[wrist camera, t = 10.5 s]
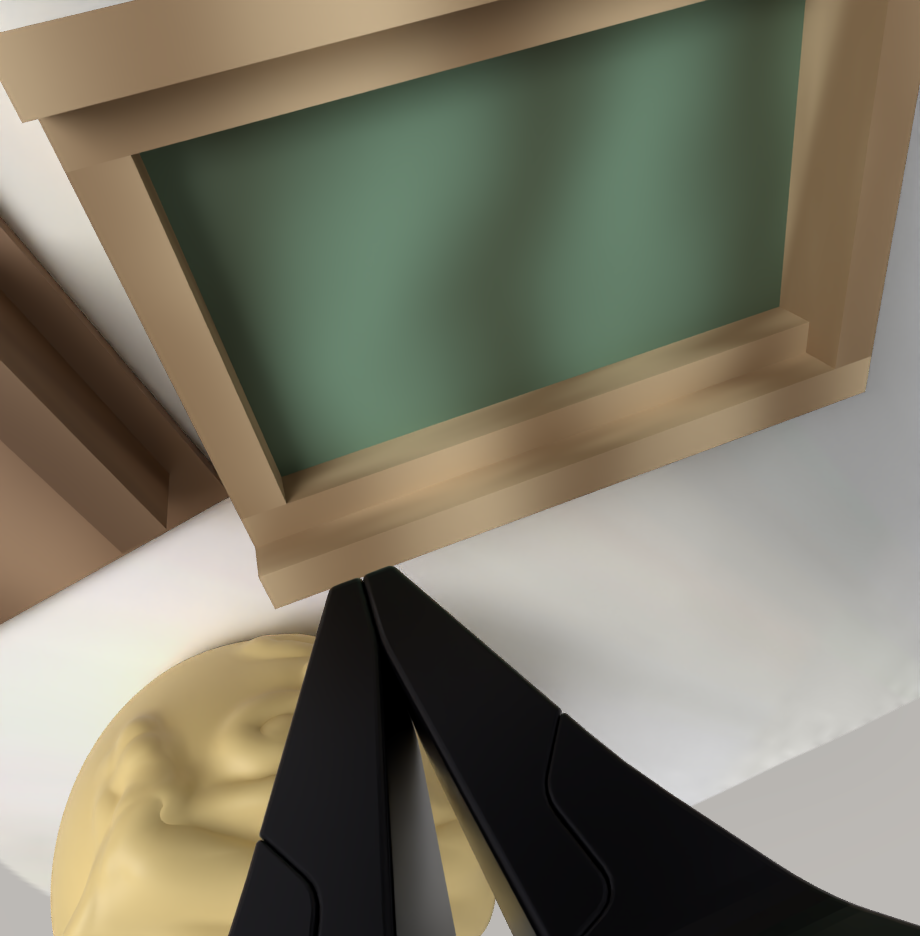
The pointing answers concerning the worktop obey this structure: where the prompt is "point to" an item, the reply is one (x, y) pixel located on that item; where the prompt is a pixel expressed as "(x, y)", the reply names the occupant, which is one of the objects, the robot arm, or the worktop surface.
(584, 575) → the worktop surface
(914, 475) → the worktop surface
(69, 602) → the worktop surface
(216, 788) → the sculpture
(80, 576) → the cover plate
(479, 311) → the tan wooden rectangular frame
